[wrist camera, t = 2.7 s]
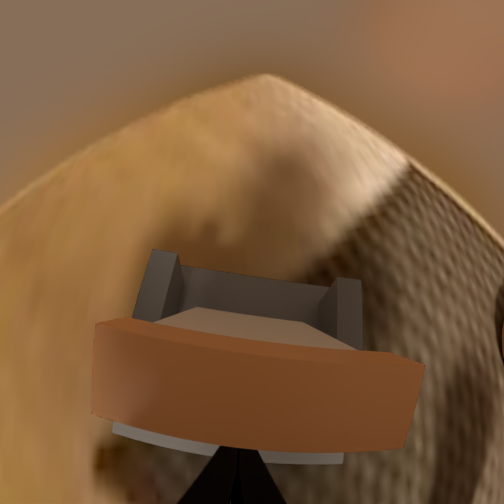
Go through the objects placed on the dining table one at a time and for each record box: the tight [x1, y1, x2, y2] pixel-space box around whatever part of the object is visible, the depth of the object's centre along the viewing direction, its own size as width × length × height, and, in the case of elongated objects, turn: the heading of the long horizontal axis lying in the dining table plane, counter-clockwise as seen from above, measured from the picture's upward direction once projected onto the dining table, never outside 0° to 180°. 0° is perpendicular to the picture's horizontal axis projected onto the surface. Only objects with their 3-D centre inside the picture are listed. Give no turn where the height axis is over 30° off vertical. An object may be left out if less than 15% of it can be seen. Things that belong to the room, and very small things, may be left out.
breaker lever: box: [91, 307, 425, 453], centre depth 9 cm, size 2×5×10 cm, turn 83°
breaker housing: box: [112, 249, 363, 464], centre depth 15 cm, size 10×14×8 cm
